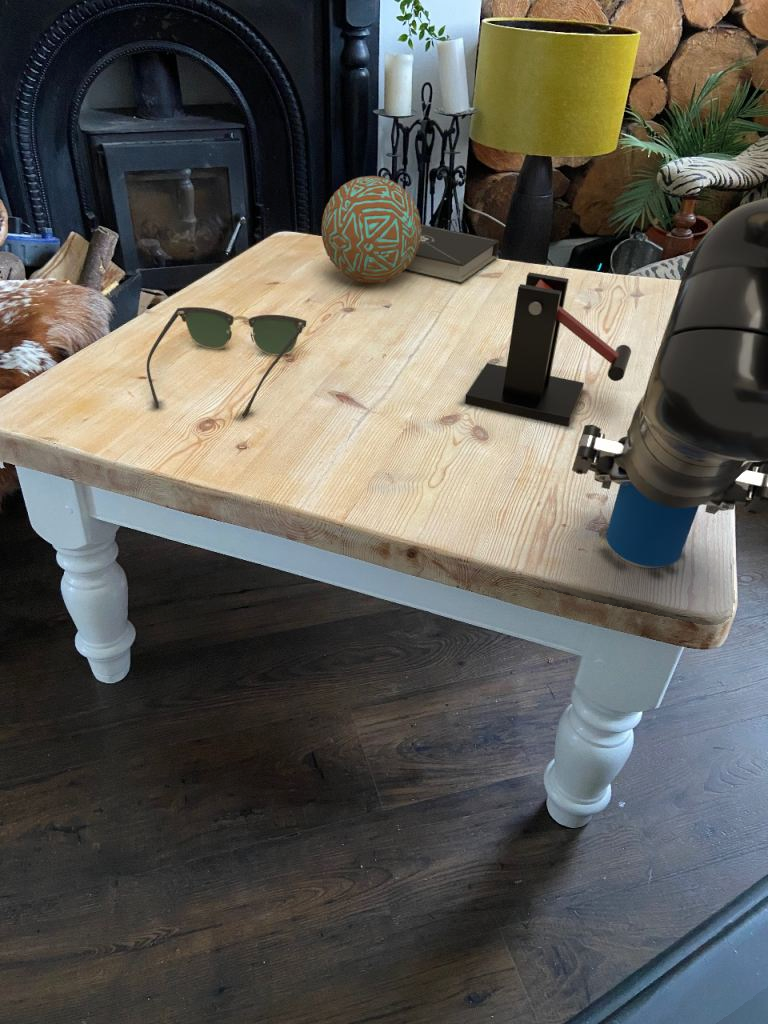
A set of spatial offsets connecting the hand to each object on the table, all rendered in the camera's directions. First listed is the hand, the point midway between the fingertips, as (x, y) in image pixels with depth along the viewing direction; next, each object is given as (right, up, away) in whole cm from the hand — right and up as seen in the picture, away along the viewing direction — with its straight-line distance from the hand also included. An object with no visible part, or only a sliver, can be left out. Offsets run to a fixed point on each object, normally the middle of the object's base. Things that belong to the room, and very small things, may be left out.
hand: (658, 489), depth 63 cm
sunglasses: (-42, +14, +26) cm, 52 cm away
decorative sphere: (-25, +34, +53) cm, 68 cm away
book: (-17, +41, +62) cm, 77 cm away
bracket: (-7, +12, +25) cm, 28 cm away
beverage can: (0, -5, +3) cm, 6 cm away
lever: (-3, +17, +18) cm, 25 cm away
